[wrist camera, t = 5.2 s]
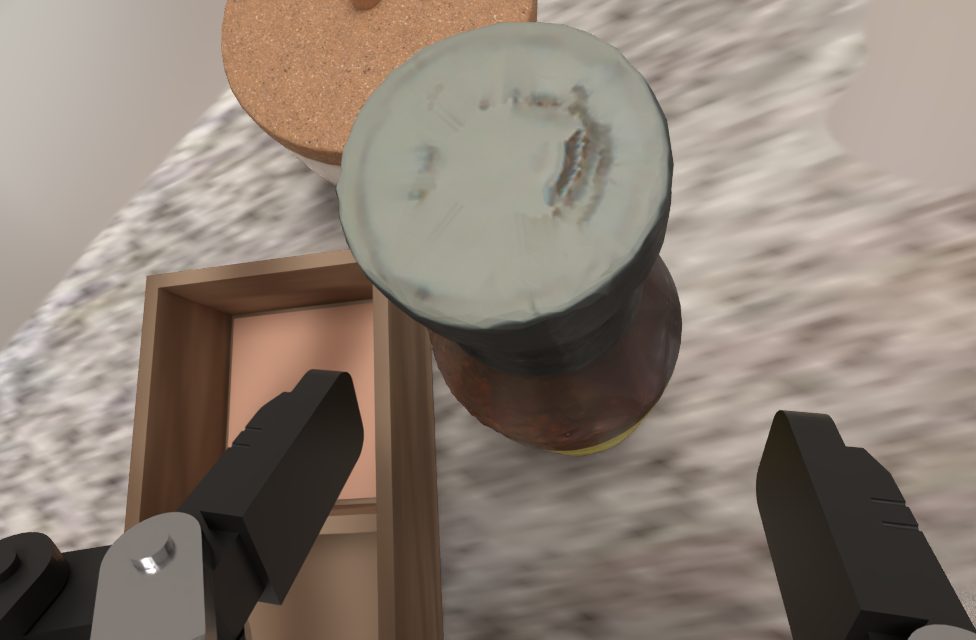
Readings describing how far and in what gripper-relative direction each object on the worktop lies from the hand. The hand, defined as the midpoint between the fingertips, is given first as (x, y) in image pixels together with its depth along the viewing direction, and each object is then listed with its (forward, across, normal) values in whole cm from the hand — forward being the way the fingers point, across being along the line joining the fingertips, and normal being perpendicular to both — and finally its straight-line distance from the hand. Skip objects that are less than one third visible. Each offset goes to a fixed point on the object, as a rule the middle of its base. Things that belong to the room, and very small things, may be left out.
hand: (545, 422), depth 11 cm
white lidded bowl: (+21, +8, 0) cm, 23 cm away
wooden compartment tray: (+7, +11, +14) cm, 19 cm away
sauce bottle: (+12, 0, +9) cm, 15 cm away
